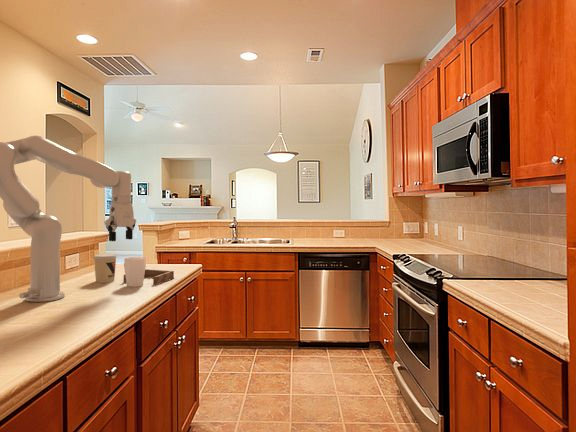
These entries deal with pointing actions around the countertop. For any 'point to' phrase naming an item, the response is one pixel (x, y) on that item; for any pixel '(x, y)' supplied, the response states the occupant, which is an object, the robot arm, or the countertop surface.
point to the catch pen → (157, 275)
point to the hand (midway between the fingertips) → (120, 240)
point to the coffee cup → (105, 267)
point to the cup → (134, 271)
